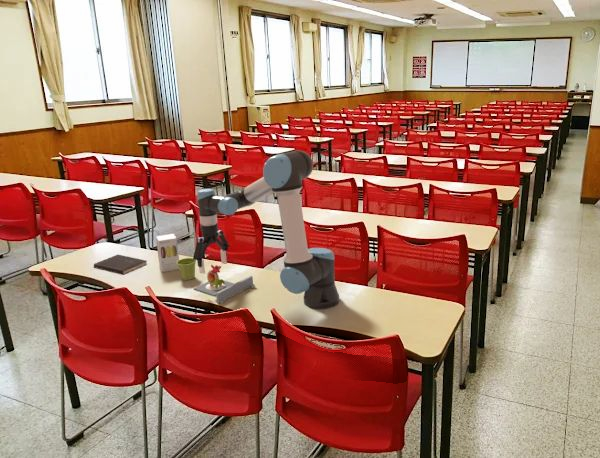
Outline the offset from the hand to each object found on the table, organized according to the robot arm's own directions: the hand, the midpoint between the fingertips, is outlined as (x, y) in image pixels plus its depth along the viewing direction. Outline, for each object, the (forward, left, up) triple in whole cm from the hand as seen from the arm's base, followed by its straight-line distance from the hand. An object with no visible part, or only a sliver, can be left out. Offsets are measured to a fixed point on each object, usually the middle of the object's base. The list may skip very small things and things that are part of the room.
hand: (213, 268), depth 224 cm
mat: (0, 0, -10) cm, 10 cm away
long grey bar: (-13, 0, -10) cm, 16 cm away
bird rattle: (0, 0, -9) cm, 9 cm away
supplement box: (+39, -5, -10) cm, 41 cm away
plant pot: (+20, -1, -10) cm, 22 cm away
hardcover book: (+65, +7, -10) cm, 66 cm away
